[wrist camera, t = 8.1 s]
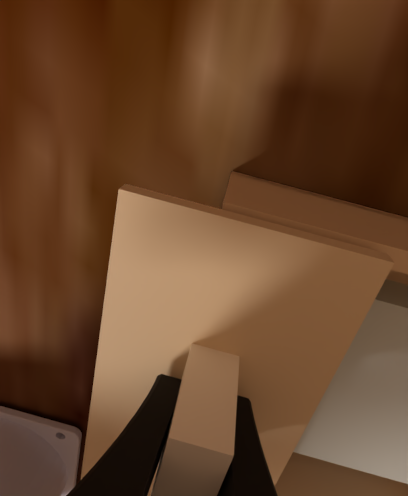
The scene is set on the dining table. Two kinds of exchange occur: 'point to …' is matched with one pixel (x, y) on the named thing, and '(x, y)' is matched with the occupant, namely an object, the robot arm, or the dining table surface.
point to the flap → (221, 331)
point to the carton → (348, 352)
